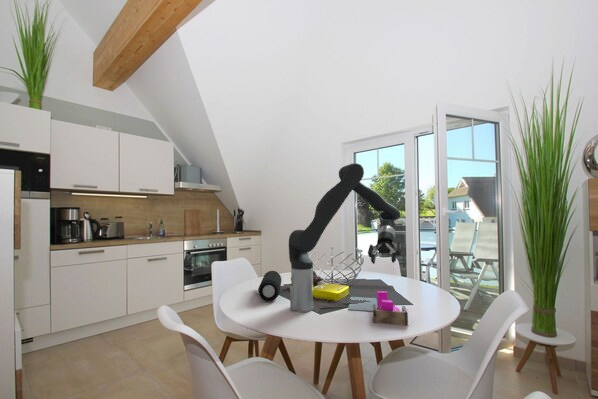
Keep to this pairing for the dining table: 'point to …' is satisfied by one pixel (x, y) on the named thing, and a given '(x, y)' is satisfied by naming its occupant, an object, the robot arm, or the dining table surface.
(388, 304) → the toy block
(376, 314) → the walnut bracket
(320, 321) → the dining table surface
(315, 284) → the pine cone
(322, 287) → the element tile
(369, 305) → the slate mat
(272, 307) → the dining table surface
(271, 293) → the portable speaker
